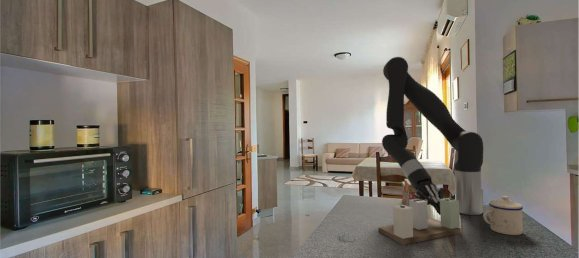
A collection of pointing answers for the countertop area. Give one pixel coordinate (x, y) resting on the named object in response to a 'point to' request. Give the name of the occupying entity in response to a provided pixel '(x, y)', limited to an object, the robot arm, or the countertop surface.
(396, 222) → the one dot key
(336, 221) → the countertop surface
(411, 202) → the three dot key
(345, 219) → the countertop surface
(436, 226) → the brown wooden board
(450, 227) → the two dot key
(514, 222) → the teacup with lid
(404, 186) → the stack of blocks
